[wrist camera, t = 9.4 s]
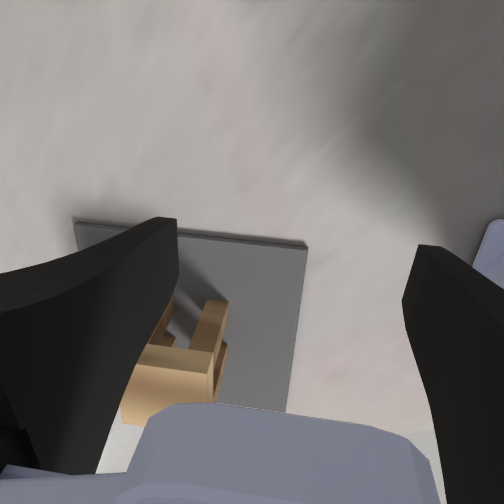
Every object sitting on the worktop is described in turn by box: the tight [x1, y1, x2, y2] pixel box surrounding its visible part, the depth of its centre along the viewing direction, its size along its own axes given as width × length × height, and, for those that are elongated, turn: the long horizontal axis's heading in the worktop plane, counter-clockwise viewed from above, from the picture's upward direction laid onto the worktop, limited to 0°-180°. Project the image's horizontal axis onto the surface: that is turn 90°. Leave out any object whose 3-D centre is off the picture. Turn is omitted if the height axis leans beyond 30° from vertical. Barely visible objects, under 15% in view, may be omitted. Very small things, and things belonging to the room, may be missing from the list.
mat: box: [74, 222, 308, 413], centre depth 27 cm, size 14×14×1 cm
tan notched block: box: [120, 295, 229, 426], centre depth 24 cm, size 5×5×6 cm
